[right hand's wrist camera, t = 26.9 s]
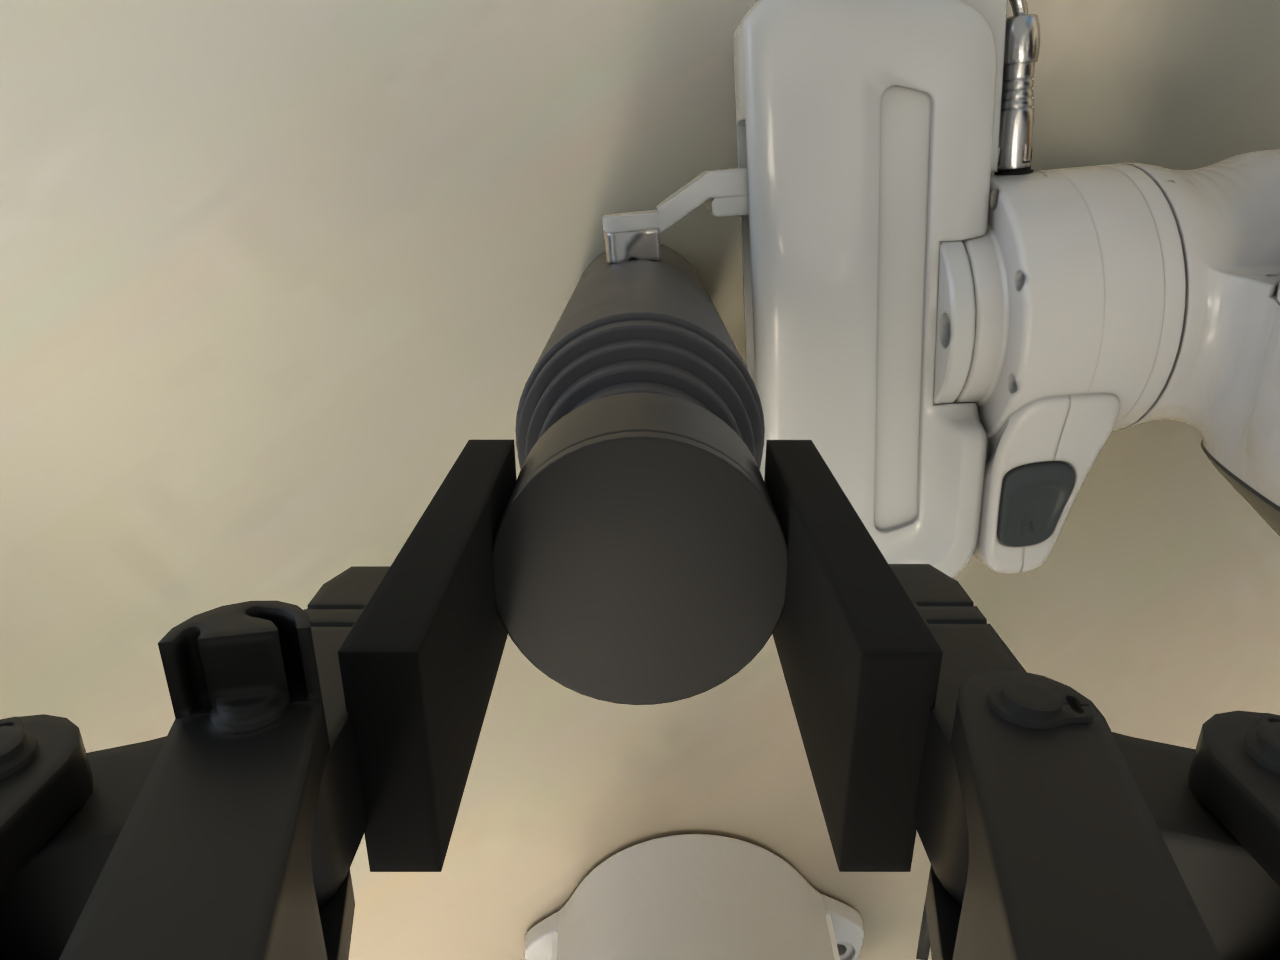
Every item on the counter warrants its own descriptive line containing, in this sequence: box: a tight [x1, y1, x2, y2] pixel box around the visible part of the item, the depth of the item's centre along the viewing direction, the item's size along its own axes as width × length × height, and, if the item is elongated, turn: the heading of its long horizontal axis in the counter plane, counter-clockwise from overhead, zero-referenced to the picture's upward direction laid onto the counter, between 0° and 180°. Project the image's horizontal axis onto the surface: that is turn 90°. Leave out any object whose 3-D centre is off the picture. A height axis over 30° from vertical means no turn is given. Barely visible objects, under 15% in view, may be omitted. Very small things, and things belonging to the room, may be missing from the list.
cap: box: [493, 392, 788, 705], centre depth 13 cm, size 4×4×2 cm
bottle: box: [516, 244, 765, 470], centre depth 24 cm, size 6×6×23 cm
